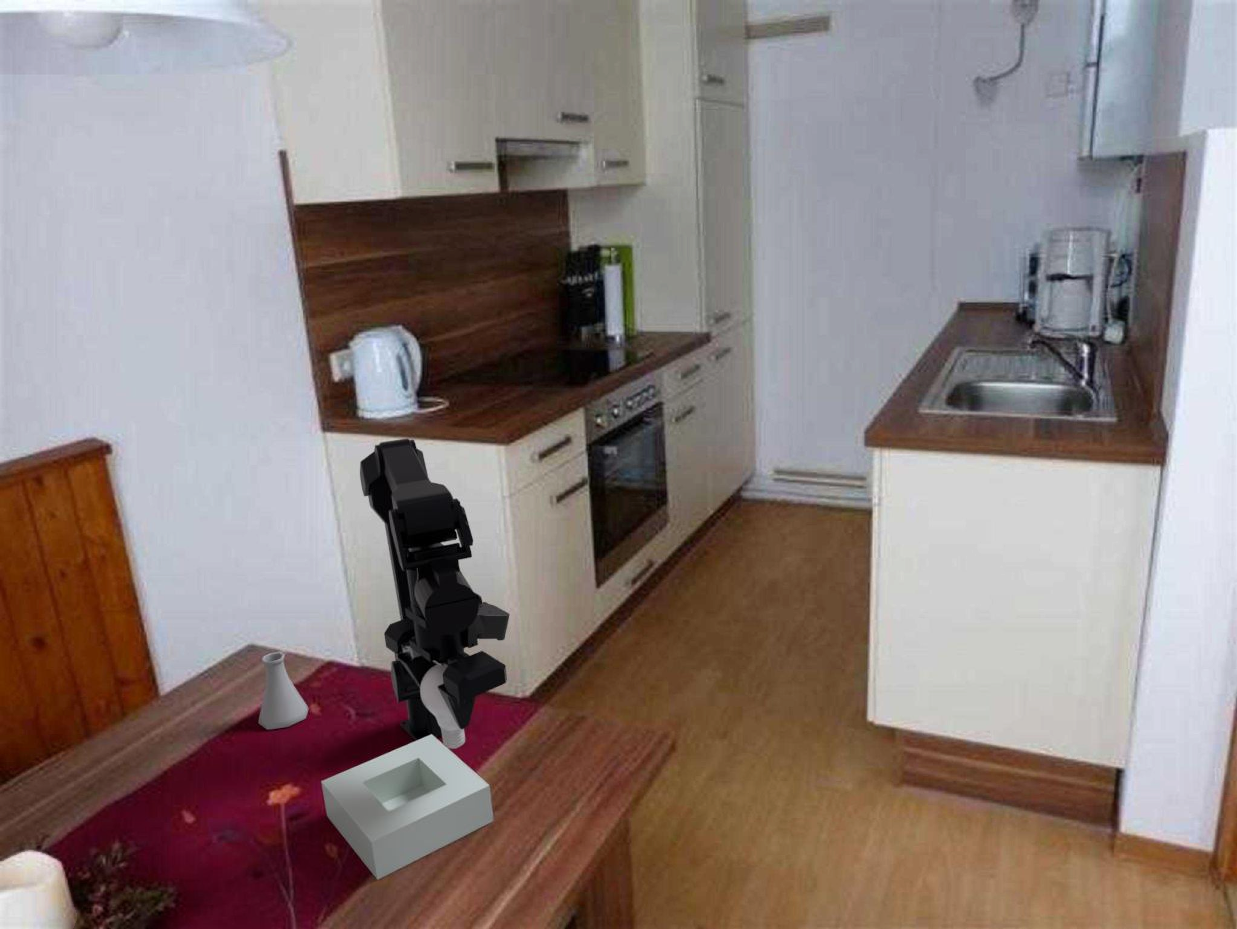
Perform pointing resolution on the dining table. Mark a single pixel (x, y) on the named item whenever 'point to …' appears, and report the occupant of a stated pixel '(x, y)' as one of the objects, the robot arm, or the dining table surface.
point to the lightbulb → (440, 707)
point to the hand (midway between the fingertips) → (450, 717)
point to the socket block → (406, 804)
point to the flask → (280, 696)
